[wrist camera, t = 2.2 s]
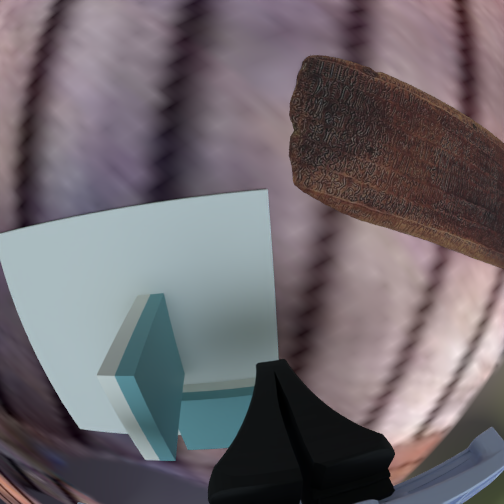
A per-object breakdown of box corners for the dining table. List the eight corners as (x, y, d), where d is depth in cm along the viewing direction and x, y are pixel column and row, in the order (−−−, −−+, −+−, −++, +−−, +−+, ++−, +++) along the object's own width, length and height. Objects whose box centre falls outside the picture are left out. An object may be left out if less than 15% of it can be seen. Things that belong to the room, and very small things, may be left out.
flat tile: (275, 426, 20) (278, 441, 19) (188, 434, 20) (188, 449, 18) (272, 375, 18) (275, 391, 17) (169, 385, 18) (166, 401, 16)
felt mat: (280, 422, 21) (281, 425, 20) (81, 425, 19) (80, 428, 19) (266, 188, 15) (267, 189, 15) (-3, 233, 14) (-6, 235, 13)
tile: (184, 373, 18) (175, 460, 11) (161, 374, 18) (145, 459, 11) (163, 293, 16) (133, 375, 9) (137, 295, 16) (96, 375, 9)
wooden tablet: (267, 200, 14) (318, 18, 11) (262, 190, 16) (306, 30, 13) (521, 278, 19) (553, 186, 15) (508, 268, 21) (538, 180, 17)
